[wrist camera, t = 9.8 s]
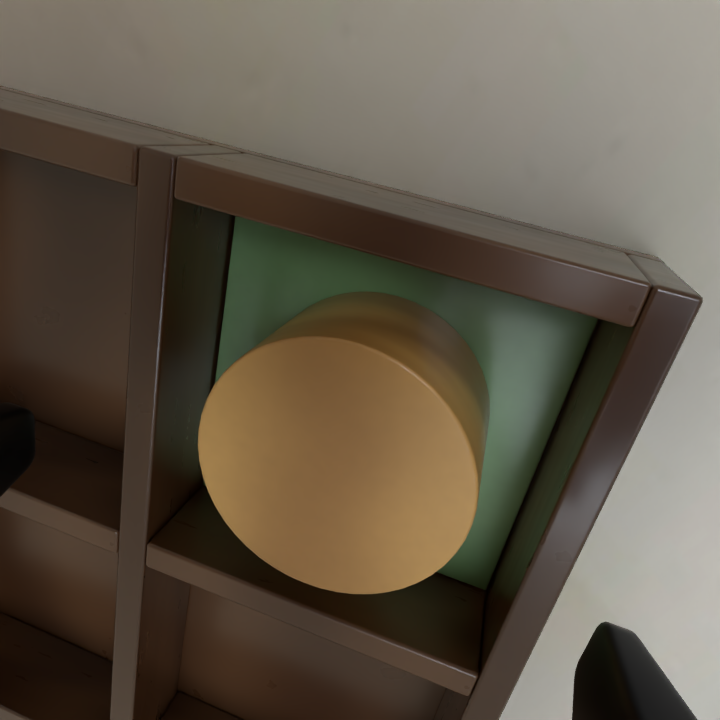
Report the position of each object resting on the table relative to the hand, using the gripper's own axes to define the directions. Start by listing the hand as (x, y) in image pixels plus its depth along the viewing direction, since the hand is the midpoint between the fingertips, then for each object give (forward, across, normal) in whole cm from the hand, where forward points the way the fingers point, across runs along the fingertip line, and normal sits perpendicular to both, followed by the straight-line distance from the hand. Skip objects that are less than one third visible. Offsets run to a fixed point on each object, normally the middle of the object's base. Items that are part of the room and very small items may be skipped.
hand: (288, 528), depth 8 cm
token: (+4, 0, 0) cm, 4 cm away
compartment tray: (+5, +4, +4) cm, 8 cm away
